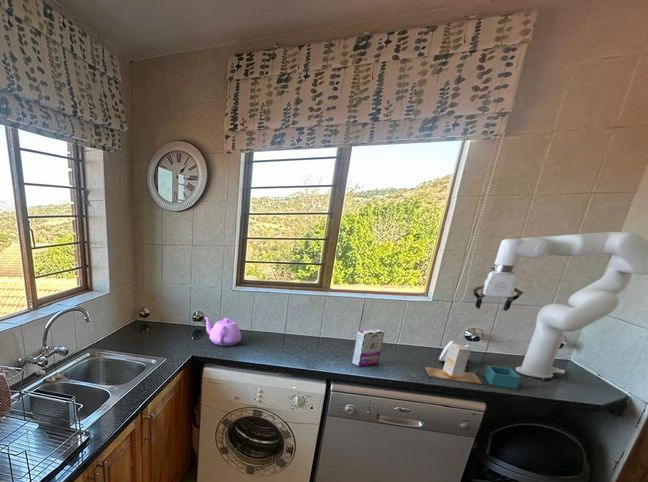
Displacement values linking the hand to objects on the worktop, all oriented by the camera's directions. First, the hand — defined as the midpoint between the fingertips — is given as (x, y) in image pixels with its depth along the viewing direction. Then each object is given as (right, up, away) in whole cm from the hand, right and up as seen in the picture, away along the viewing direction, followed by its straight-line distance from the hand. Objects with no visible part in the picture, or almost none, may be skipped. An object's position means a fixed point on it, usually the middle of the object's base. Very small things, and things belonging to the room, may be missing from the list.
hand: (491, 309), depth 176 cm
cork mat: (-15, -29, +3) cm, 33 cm away
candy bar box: (-47, -24, +16) cm, 55 cm away
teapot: (-111, -11, +48) cm, 121 cm away
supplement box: (-15, -29, +3) cm, 33 cm away
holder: (0, -32, -4) cm, 32 cm away
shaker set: (-4, -23, +18) cm, 30 cm away
